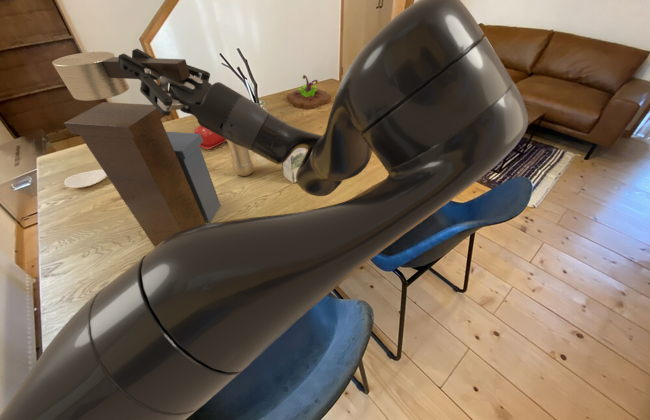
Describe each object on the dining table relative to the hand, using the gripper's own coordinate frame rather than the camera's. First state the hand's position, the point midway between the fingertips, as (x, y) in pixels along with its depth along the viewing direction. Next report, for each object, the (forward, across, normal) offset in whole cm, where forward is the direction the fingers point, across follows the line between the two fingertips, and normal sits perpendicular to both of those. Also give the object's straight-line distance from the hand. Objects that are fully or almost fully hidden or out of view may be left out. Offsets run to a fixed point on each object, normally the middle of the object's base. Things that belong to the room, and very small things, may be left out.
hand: (127, 57), depth 41 cm
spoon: (+14, -24, +56) cm, 62 cm away
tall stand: (-14, 0, +39) cm, 42 cm away
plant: (-27, -93, +32) cm, 102 cm away
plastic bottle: (-20, -29, +36) cm, 50 cm away
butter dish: (-2, -47, +46) cm, 66 cm away
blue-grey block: (-14, -9, +39) cm, 43 cm away
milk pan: (-1, 0, +5) cm, 5 cm away
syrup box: (-34, -29, +28) cm, 53 cm away
